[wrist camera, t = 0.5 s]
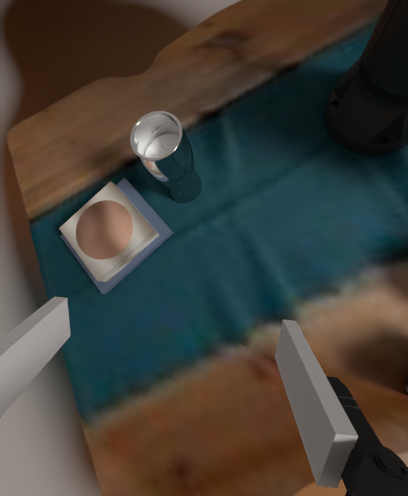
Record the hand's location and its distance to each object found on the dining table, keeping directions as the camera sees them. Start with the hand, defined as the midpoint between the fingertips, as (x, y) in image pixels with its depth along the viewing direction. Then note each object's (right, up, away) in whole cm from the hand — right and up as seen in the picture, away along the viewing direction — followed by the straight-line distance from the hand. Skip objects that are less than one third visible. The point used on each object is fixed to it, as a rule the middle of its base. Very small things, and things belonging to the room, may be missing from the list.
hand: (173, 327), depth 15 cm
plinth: (-14, +7, +28) cm, 32 cm away
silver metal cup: (-2, +16, +29) cm, 33 cm away
